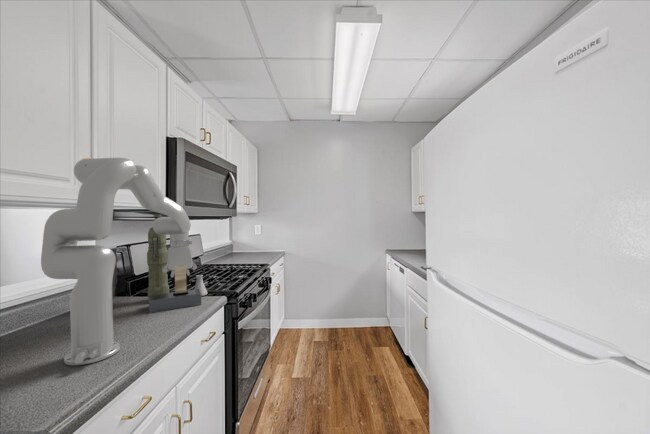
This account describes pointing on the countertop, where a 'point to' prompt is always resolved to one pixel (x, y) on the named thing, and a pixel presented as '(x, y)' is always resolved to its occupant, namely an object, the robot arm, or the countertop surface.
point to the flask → (200, 285)
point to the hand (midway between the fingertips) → (180, 284)
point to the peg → (180, 279)
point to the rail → (174, 300)
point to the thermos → (157, 263)
